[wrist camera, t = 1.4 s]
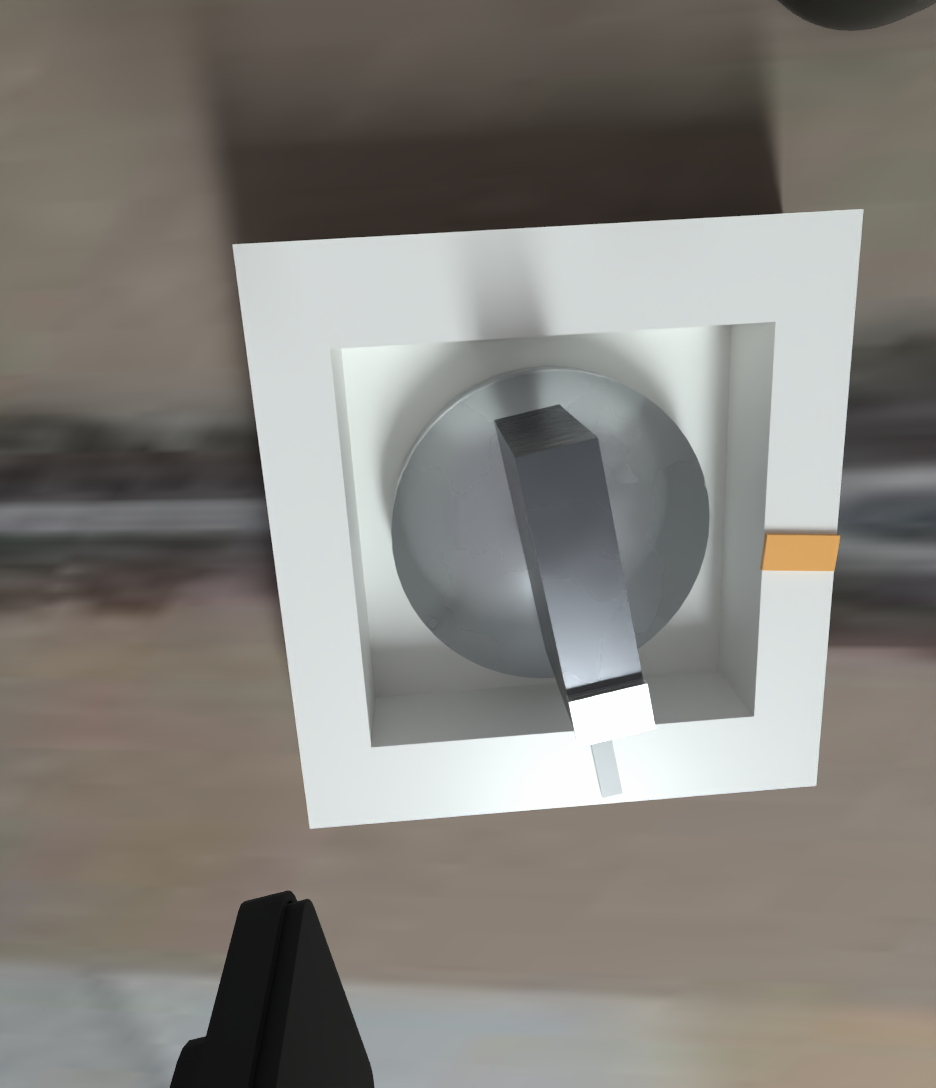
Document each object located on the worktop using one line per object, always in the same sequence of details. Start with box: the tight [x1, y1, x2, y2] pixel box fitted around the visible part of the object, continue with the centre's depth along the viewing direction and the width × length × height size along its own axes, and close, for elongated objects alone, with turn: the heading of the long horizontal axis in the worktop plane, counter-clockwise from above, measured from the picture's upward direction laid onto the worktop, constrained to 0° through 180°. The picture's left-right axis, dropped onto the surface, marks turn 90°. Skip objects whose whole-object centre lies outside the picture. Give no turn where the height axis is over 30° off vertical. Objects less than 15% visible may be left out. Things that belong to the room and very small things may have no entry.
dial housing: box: [232, 209, 863, 829], centre depth 24 cm, size 15×16×5 cm
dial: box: [391, 365, 710, 747], centre depth 22 cm, size 9×9×7 cm
